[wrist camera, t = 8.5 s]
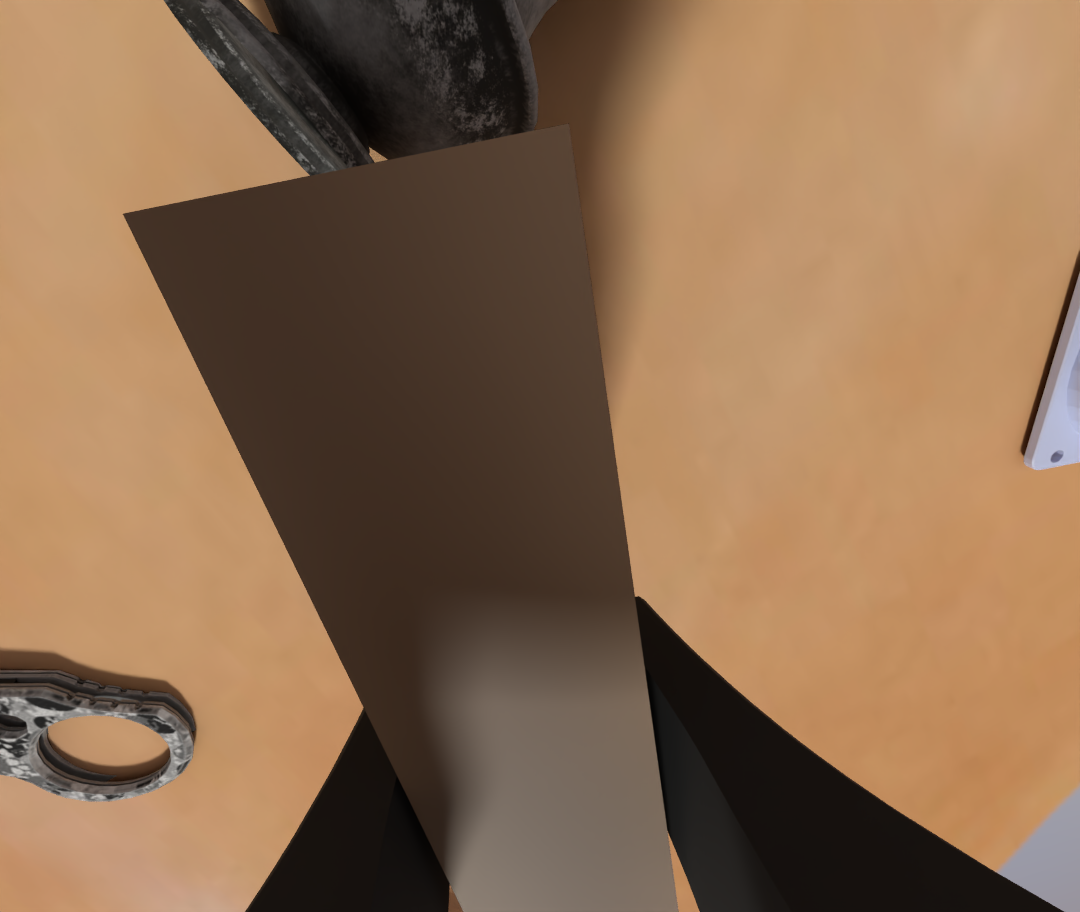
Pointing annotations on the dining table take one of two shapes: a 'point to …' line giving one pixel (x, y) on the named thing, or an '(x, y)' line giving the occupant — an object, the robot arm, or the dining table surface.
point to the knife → (53, 695)
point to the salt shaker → (375, 72)
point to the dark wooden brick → (446, 493)
